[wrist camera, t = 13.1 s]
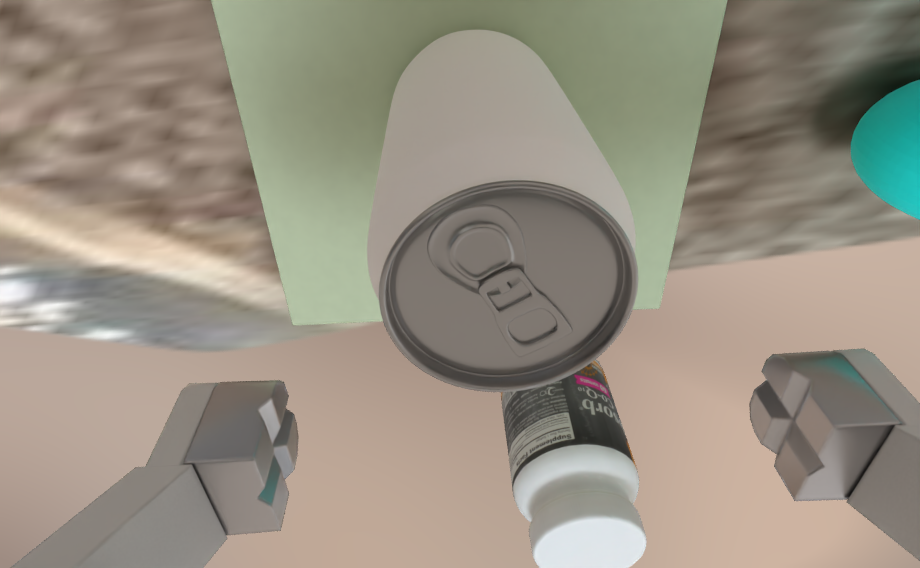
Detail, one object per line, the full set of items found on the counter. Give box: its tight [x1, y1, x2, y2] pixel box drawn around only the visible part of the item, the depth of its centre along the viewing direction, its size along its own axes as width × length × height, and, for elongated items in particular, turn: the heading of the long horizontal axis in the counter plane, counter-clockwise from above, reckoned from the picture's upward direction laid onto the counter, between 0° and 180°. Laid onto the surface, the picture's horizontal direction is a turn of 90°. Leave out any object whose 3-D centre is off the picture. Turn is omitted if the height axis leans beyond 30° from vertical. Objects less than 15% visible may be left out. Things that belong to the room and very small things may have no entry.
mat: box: [211, 0, 727, 325], centre depth 22 cm, size 20×18×1 cm
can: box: [367, 30, 638, 392], centre depth 17 cm, size 6×6×12 cm
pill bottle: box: [501, 359, 646, 568], centre depth 27 cm, size 6×6×10 cm
